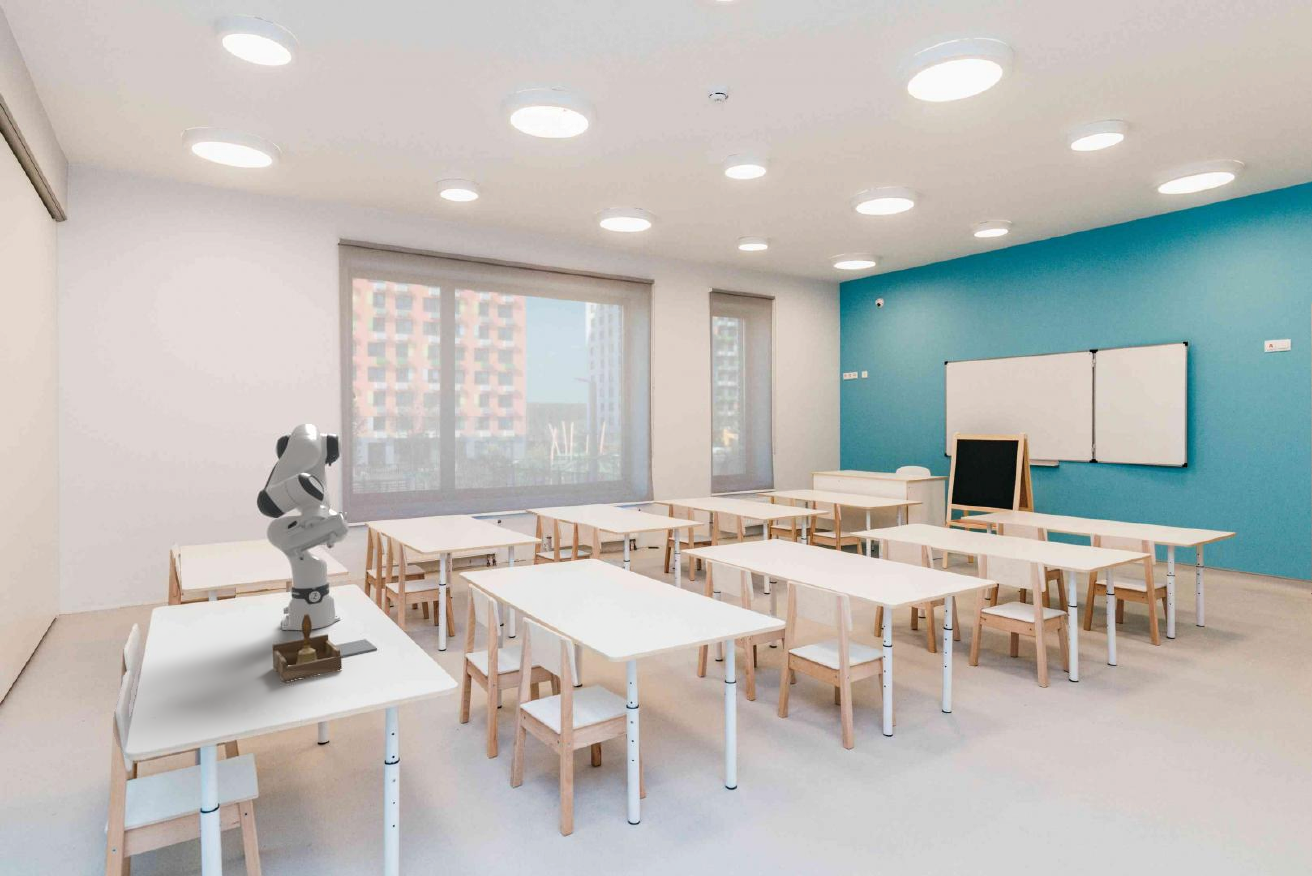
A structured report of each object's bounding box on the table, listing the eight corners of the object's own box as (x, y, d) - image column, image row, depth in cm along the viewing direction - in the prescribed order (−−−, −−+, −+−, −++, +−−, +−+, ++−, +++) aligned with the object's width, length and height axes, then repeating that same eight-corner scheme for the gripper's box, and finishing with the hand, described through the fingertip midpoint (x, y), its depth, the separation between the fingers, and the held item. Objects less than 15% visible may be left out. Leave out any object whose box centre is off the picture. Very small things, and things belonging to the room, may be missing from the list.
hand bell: (311, 662, 212) (310, 609, 212) (329, 667, 208) (327, 613, 208) (285, 671, 205) (283, 616, 205) (302, 676, 201) (300, 620, 200)
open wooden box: (273, 668, 208) (272, 644, 208) (328, 656, 217) (327, 634, 217) (284, 682, 196) (283, 657, 196) (341, 670, 205) (340, 646, 205)
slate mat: (326, 648, 225) (326, 647, 225) (365, 641, 232) (365, 639, 232) (336, 658, 215) (336, 656, 215) (377, 650, 223) (377, 648, 223)
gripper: (351, 516, 233) (353, 545, 223) (290, 541, 231) (289, 572, 221) (341, 503, 229) (342, 532, 219) (279, 529, 227) (277, 560, 217)
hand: (315, 552), depth 220 cm, fingers open, 8 cm apart
